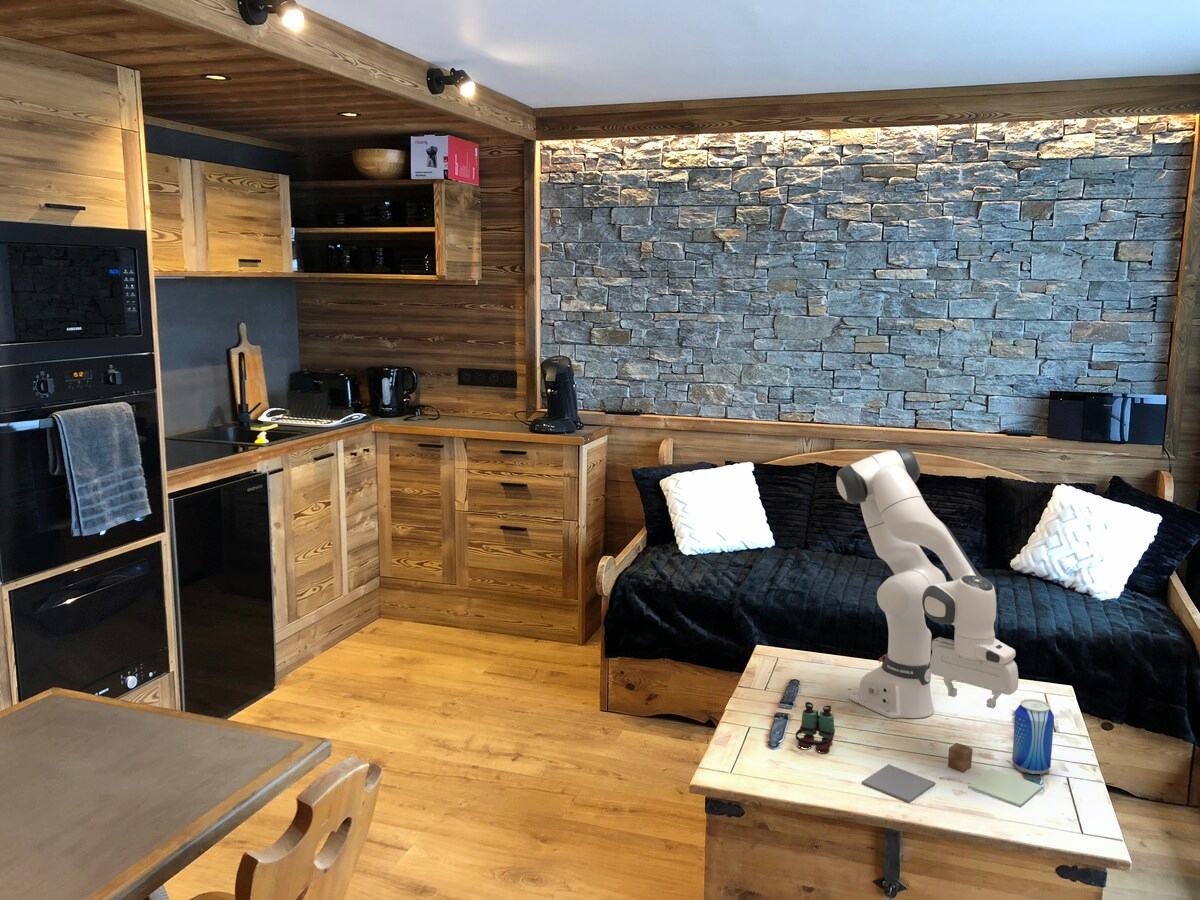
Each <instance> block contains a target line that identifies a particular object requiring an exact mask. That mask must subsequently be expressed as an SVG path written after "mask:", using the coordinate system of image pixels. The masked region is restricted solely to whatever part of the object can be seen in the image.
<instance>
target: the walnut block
mask: <svg viewBox="0 0 1200 900" xmlns="http://www.w3.org/2000/svg"><path fill="white" fill-rule="evenodd" d="M947 755H948V757H947V768H949V769H951V770H954V771H957V772H959V773H962V774H965V773H967V771H969V770H970V769H971V768H972V765H973V764H972V763H973V761H972V760H973V747H970V746H968V745H965V744H962V743H958V742H955V743H954V744H953V745H950V747H948V754H947Z"/></svg>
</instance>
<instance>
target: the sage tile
mask: <svg viewBox="0 0 1200 900" xmlns="http://www.w3.org/2000/svg"><path fill="white" fill-rule="evenodd" d="M967 787H968V789H970V790H973V791H976V792H978V793H981V794H983V795H987V796H989V797H992V798H994V799H997V800H1000V801H1003V802H1005V803H1007V804H1011V805H1013V806H1016V807H1018V808H1022V807H1023V806H1024V805H1025V804H1027V802H1029V800H1031V799H1033V797H1034V796H1036V795H1037V794H1038V793H1039V792H1040V791H1042V790H1043V787H1044V786H1043V785H1041V784H1038V783H1036V782H1032V781H1029V780H1027V779H1025V778H1021V777H1018V776H1015V775H1014V774H1010V773H1007V772H1004V771H1001V770H999V769H996V768H993V767H991V768H990V769H988V770H987V771H985V772H984V773H983V774H982V775H980V776H978V777H977V779H975V780H973V782H971V783H970V784H968V786H967Z"/></svg>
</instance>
